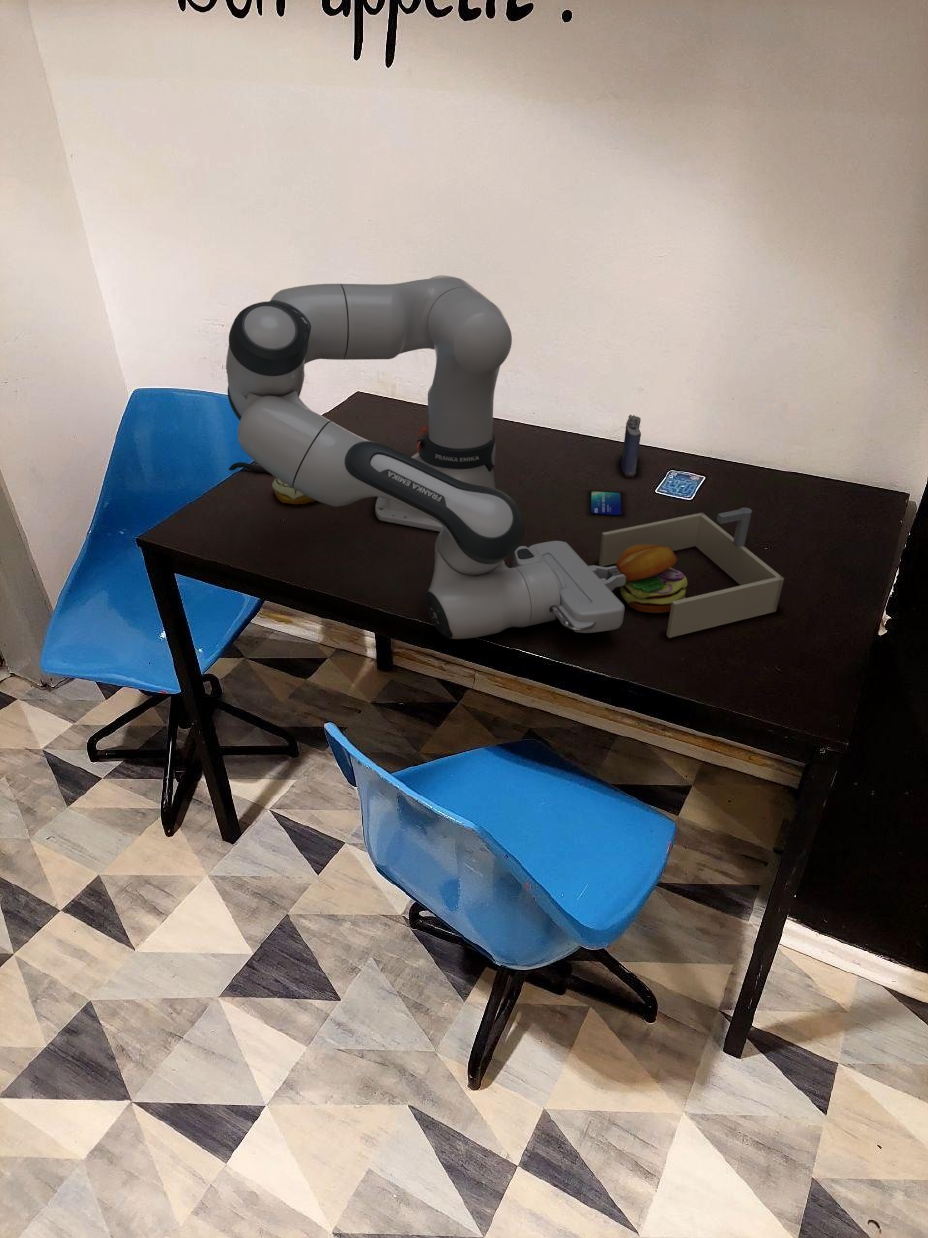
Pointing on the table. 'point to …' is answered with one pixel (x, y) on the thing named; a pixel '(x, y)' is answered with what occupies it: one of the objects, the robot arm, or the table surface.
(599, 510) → the credit card
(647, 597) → the cheeseburger
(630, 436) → the flask
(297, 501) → the decorated donut
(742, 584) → the grey u-shaped wall
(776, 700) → the table surface
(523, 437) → the table surface
